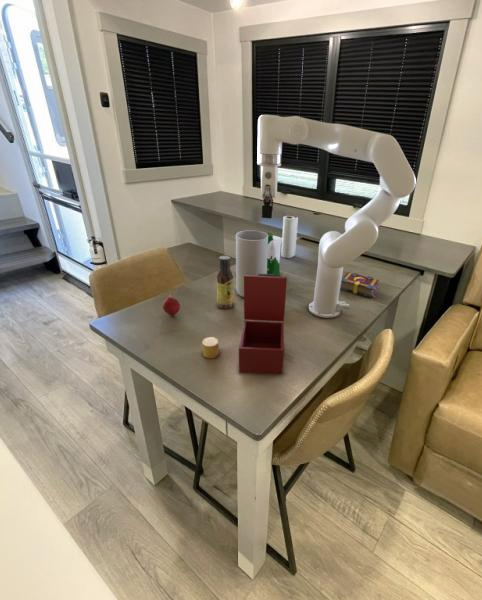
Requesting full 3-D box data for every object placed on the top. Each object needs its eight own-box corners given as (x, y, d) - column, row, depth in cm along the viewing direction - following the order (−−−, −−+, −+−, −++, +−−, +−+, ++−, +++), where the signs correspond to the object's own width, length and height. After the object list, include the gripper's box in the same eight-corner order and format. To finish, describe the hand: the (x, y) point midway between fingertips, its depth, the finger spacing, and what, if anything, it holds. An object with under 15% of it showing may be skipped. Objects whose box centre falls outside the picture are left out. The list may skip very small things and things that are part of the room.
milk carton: (256, 274, 155) (257, 233, 146) (267, 268, 162) (269, 229, 152) (271, 279, 152) (273, 238, 142) (282, 273, 158) (284, 233, 149)
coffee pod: (220, 348, 105) (219, 337, 103) (217, 358, 101) (216, 346, 99) (204, 348, 105) (204, 336, 103) (201, 357, 101) (200, 346, 99)
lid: (286, 278, 97) (286, 269, 101) (243, 276, 96) (245, 267, 101) (283, 321, 105) (283, 311, 109) (244, 319, 104) (245, 310, 109)
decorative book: (346, 280, 157) (347, 270, 154) (379, 288, 151) (382, 278, 148) (338, 289, 148) (340, 279, 145) (374, 298, 142) (376, 288, 139)
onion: (184, 313, 122) (182, 294, 118) (174, 320, 117) (172, 301, 114) (170, 309, 124) (168, 290, 120) (160, 317, 119) (158, 297, 115)
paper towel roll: (280, 257, 176) (282, 217, 166) (282, 253, 181) (284, 215, 171) (293, 259, 175) (296, 219, 165) (295, 255, 180) (298, 216, 170)
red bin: (282, 374, 97) (283, 350, 92) (239, 372, 96) (238, 348, 92) (282, 344, 109) (283, 322, 105) (244, 342, 109) (244, 320, 105)
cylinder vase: (241, 301, 133) (241, 241, 121) (233, 287, 143) (232, 231, 130) (270, 296, 137) (272, 239, 125) (260, 283, 147) (261, 229, 135)
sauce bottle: (230, 310, 126) (229, 262, 116) (215, 307, 127) (212, 259, 117) (236, 302, 132) (235, 255, 122) (221, 300, 132) (219, 253, 123)
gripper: (281, 164, 96) (278, 221, 104) (281, 157, 111) (278, 208, 120) (255, 162, 96) (254, 220, 104) (259, 156, 111) (258, 207, 119)
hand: (267, 214), depth 112 cm, fingers open, 9 cm apart
